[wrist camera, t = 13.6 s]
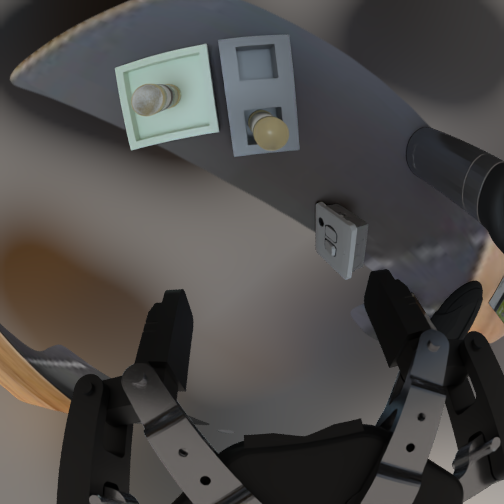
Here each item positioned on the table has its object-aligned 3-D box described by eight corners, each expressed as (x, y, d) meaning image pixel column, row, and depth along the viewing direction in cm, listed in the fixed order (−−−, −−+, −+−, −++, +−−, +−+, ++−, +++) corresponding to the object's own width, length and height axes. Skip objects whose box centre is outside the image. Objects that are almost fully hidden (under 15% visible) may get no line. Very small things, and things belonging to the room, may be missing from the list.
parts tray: (208, 46, 27) (206, 44, 25) (219, 129, 34) (218, 131, 32) (121, 68, 27) (114, 68, 25) (136, 146, 34) (131, 150, 32)
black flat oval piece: (492, 271, 57) (501, 281, 52) (451, 350, 80) (456, 359, 75) (438, 290, 57) (447, 303, 53) (401, 370, 80) (406, 381, 76)
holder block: (281, 41, 27) (288, 34, 23) (291, 141, 35) (299, 149, 31) (219, 46, 27) (218, 40, 23) (233, 148, 35) (234, 156, 31)
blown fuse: (179, 81, 29) (160, 79, 21) (183, 105, 31) (166, 111, 23) (154, 87, 29) (128, 89, 21) (158, 110, 31) (134, 120, 23)
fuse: (272, 108, 32) (287, 116, 23) (274, 132, 34) (290, 149, 25) (246, 111, 32) (252, 119, 23) (249, 135, 34) (256, 152, 25)
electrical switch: (314, 200, 41) (340, 229, 33) (344, 196, 41) (373, 223, 34) (314, 250, 46) (335, 284, 39) (341, 244, 47) (365, 276, 39)
